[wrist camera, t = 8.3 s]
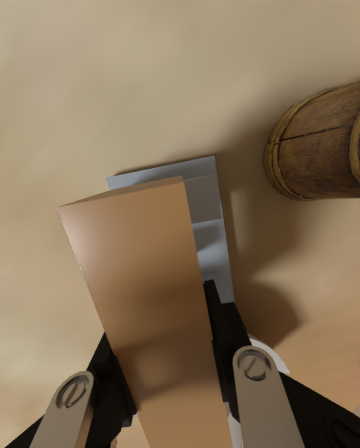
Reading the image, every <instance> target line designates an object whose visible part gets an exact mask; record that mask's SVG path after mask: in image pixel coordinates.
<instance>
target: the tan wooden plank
mask: <svg viewBox="0 0 360 448" xmlns="http://www.w3.org/2000/svg"><path fill="white" fill-rule="evenodd" d="M57 210H58V212H59V215H60V217H61V220H62V222H63V225H64V228H65V230H66V233H67V235H68V238H69V240H70V243H71V245H72V248H73V251H74V253H75V256H76V258H77V261H78V263H79V266H80V269H81V271H82V274H83V276H84V279H85V281H86V284H87V287H88V289H89V292H90V294H91V297H92V299H93V302H94V304H95V307H96V310H97V312H98V315H99V317H100V320H101V322H102V325H103V328H104V330H105V333H106V335H107V338H108V340H109V343H110V346H111V348H112V351H113V353H114V356H115V355H116V356H117V359H118V361H119V364H120V366H121V369H122V371H123V374H124V377H125V379H126V382H127V384H128V387H129V390H130V392H131V395H132V397H133V400H134V403H135V405H136V408H137V415H138V417H139V420H140V423H141V425H142V428H143V430H144V433H145V435H146V438H147V440H148V443H149V446H150V448H233V444H232V439H231V434H230V428H229V423H228V417H227V412H226V407H225V403H223V400H222V395H221V389H220V384H219V379H218V374H217V368H216V363H215V358H214V352H213V347H212V342H211V341H212V340H213V336H212V331H211V326H210V320H209V315H208V309H207V304H206V299H205V293H204V288H203V282H202V277H201V272H200V266H199V261H198V255H197V250H196V245H195V239H194V234H193V228H192V223H191V218H190V212H189V207H188V201H187V196H186V191H185V185H184V181H183V178H182V175H181V176H176V177H171V178H166V179H161V180H156V181H151V182H146V183H141V184H136V185H131V186H126V187H121V188H116V189H113V190H110V191H107V192H104V193H100V194H97V195H94V196H91V197H88V198H85V199H82V200H78V201H75V202H72V203H69V204H66V205H63V206H59V207H57Z"/></svg>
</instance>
